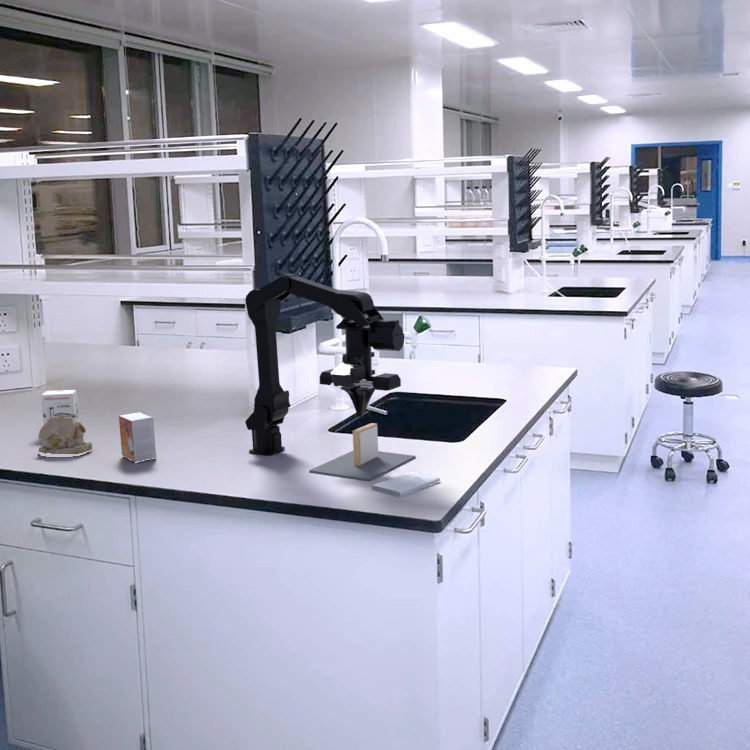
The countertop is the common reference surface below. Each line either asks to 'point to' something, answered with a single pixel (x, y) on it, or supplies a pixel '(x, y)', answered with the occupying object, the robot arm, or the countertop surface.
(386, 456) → the mat
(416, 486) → the external hard drive
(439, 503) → the countertop surface
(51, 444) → the ceramic model
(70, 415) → the ink box
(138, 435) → the small box
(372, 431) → the tile
